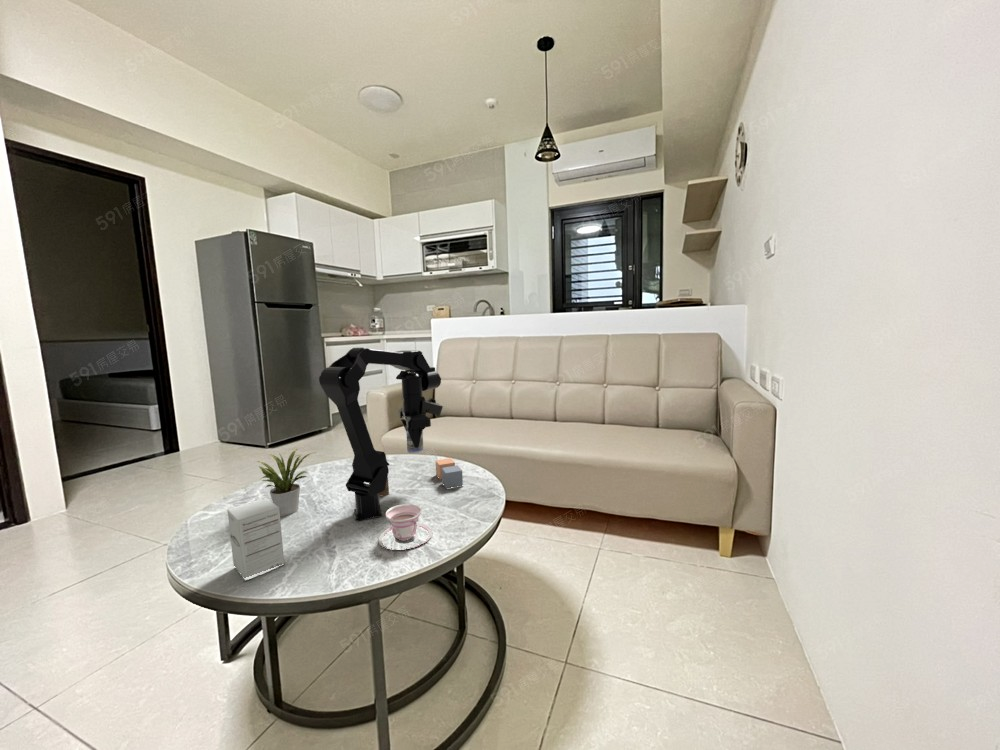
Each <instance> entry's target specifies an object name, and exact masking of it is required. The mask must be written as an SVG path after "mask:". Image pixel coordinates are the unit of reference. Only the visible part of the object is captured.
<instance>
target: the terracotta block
mask: <svg viewBox="0 0 1000 750" xmlns="http://www.w3.org/2000/svg"><path fill="white" fill-rule="evenodd" d="M455 464H456V463H455V461H454V460H453V459H452V458H451V457H449V458H448V457H447V458H442V459H436V460H435V475H436V477H437V476H438V477H439V478H438V477H437V478H438V479H439V481H442V480H441V479H442V468H444V467H451V466H456V465H455Z"/></svg>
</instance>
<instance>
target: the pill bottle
mask: <svg viewBox="0 0 1000 750" xmlns="http://www.w3.org/2000/svg"><path fill="white" fill-rule="evenodd" d="M423 431H424V430H423ZM423 431H422V434H421V439H420V444H419V447H418V448H415V447H414V445H413V442H412V440H411V438H410V435H409V433H408V431H407V432H406V431H405V434H406V448H407V453H409V454H420V453H422V452H423V451H424V432H423Z"/></svg>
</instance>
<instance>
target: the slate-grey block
mask: <svg viewBox="0 0 1000 750" xmlns="http://www.w3.org/2000/svg"><path fill="white" fill-rule="evenodd" d="M463 479H464V477H463V470H462V469H461V467H460V466H459V465H458V464H457V465H455V466H451V467H444V468H442V480H441V481H442V483H443V484H444V485H443V484H442V485H443V487H444V488H445V487H446V488H445V489H446V490H448V489H447V488H451V487H457V486H462V485H463V486H464V483H463V482H464V481H463ZM463 486H462V487H463ZM457 488H458V487H457ZM451 489H452V488H451Z"/></svg>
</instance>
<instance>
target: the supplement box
mask: <svg viewBox="0 0 1000 750" xmlns="http://www.w3.org/2000/svg"><path fill="white" fill-rule="evenodd" d="M226 511H227V516H228V517H227V518H228V526H229V527H228V528H229V535H230V545H231V554H232V561H233V562H232V563H233V567H234V566H235V567H236V569H237V570H238V571H239V572H240V573H241V575H242V576H243V577H244V578H246V577H249V576H252V575H254V574H257V573H260V572H262V571H266V570H268V569H271V568H274V567H276V566H279V565H282V564H284V563H285V555H284V544H283V543H284V542H283V534H282V523H281V521H282V520H281V516H280V512H279V507H278V506H277V505H275V504H274V503H273V501H272V500H270V499H269V498H267V497H264V498H261V499H257V500H253V501H250V502H247V503H243V504H241V505H238V506H234V507H230V508H228V509H227V510H226ZM236 569H235V570H236ZM237 570H236V571H237ZM238 571H237V572H238ZM239 572H238V573H239ZM241 575H240V576H241Z"/></svg>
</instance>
